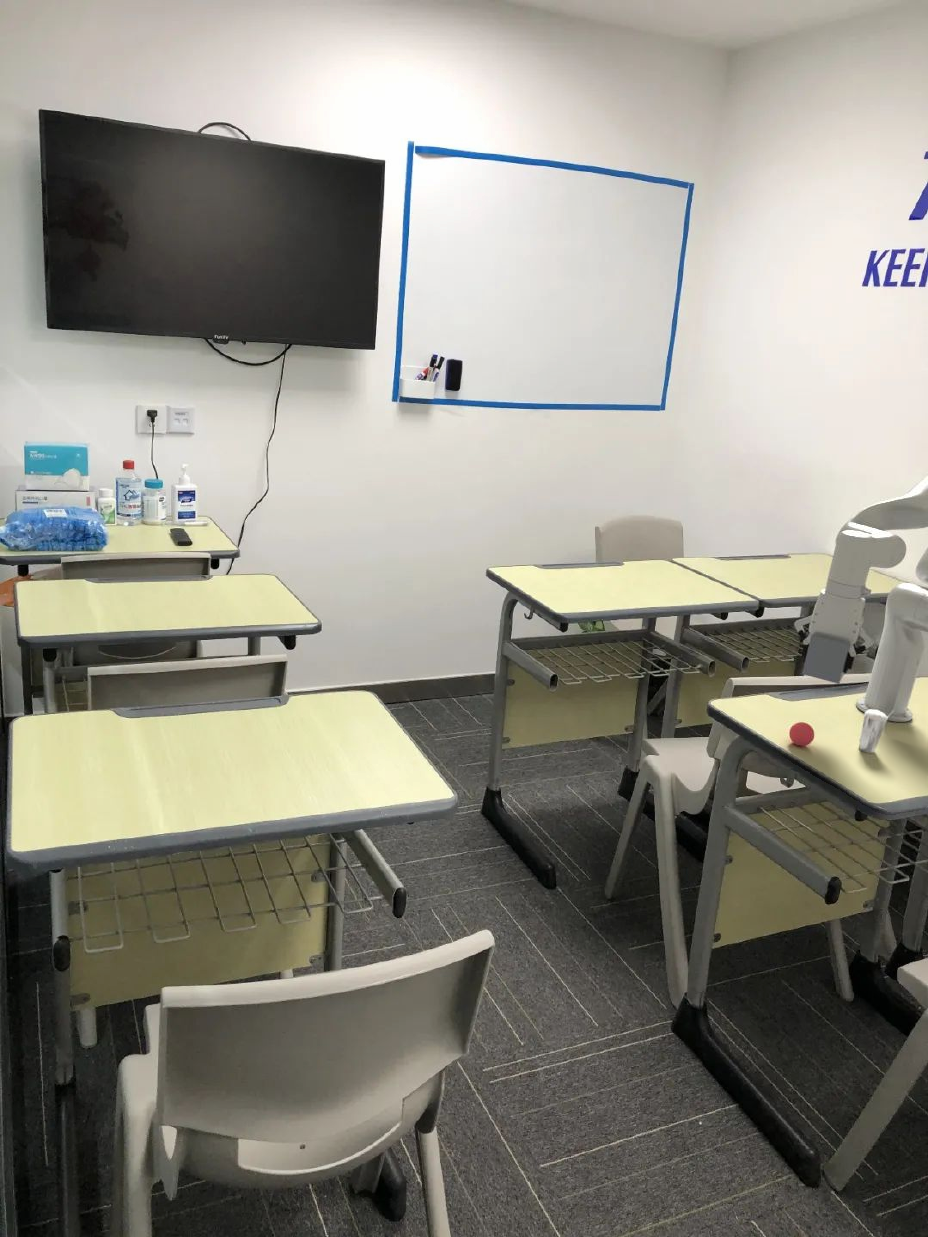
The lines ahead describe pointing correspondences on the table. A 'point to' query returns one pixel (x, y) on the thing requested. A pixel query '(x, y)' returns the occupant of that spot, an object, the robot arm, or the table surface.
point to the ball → (801, 734)
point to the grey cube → (826, 658)
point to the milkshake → (872, 730)
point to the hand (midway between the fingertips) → (825, 665)
